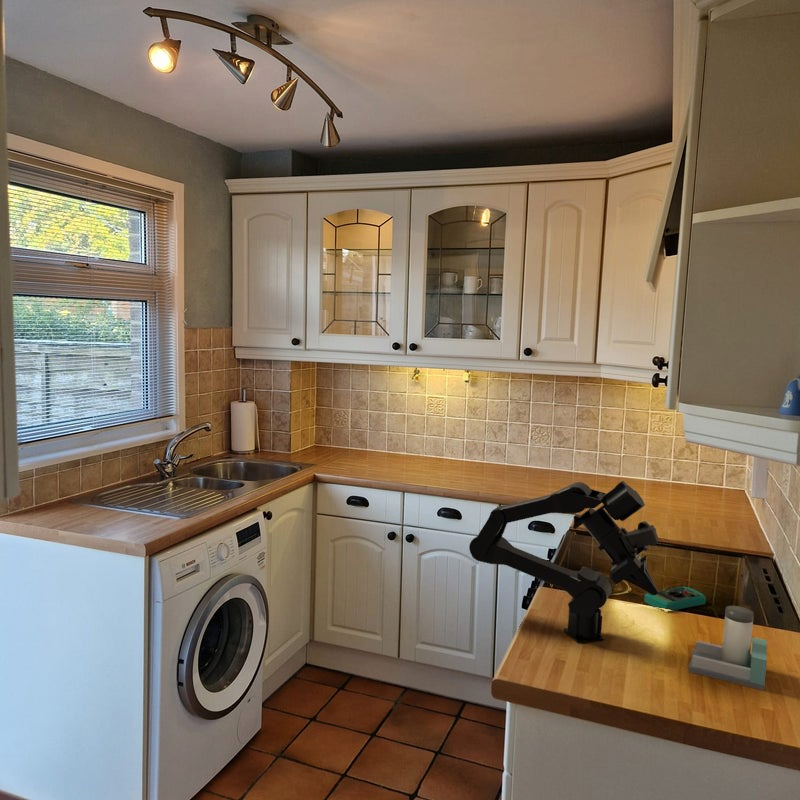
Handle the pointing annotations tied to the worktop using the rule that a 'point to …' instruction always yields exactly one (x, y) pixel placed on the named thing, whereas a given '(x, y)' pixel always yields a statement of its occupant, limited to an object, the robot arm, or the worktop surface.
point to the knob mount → (712, 665)
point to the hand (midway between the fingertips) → (656, 593)
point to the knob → (737, 635)
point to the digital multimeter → (675, 598)
